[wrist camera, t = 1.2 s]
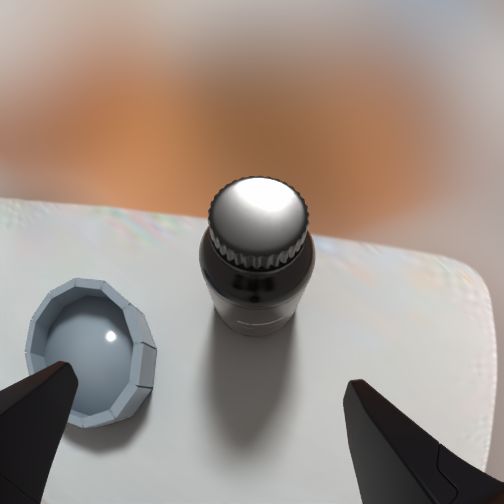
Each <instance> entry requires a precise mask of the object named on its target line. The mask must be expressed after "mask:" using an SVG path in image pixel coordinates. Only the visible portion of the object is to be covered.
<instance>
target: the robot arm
mask: <svg viewBox="0 0 504 504" xmlns="http://www.w3.org/2000/svg"><path fill="white" fill-rule="evenodd" d="M78 384H79V382H78V378H77V376H76V374H75V372H74V370H73V367H72V365H71V364H70V363H69V362H65V361H57V362H56V363H54V364H52V365H50V366H48V367H46V368H44V369H42V370H40V371H38V372H36V373H34V374H32V375H30V376H28V377H26V378H25V379H23V380H21V381H19V382H17V383H15V384H13V385H11V386H9V387H7V388H5V389H3V390H1V391H0V504H40V503H41V499H42V496H43V492H44V488H45V485H46V482H47V478H48V475H49V472H50V469H51V466H52V463H53V460H54V457H55V454H56V451H57V448H58V445H59V443H60V440H61V437H62V434H63V432H64V429H65V427H66V424H67V421H68V418H69V415H70V412H71V408H72V405H73V401H74V398H75V395H76V392H77V389H78ZM343 407H344V414H345V421H346V429H347V437H348V444H349V449H350V453H351V457H352V461H353V465H354V469H355V473H356V477H357V482H358V486H359V490H360V494H361V499H362V503H363V504H504V482H501V481H499V480H497V479H495V478H493V477H491V476H489V475H487V474H486V473H484V472H482V471H481V470H479V469H477V468H475V467H474V466H472V465H470V464H469V463H467V462H466V461H464V460H462V459H461V458H459V457H458V456H457V455H455V454H454V453H453V452H451V451H450V450H449V449H447V448H446V447H445V446H443V445H442V444H439V442H438V441H437V440H436V439H435V438H433V437H432V436H431V435H430V434H428V433H427V432H426V431H425V430H423V429H422V428H421V427H420V426H418V425H417V424H416V423H415V422H414V421H412V420H411V419H410V418H409V417H407V416H406V415H405V414H404V413H403V412H401V411H400V410H399V409H398V408H397V407H395V406H394V405H393V404H392V403H391V402H389V401H388V400H387V399H386V398H385V397H383V396H382V395H381V394H380V393H379V392H377V391H376V390H375V389H374V388H373V387H371V386H370V385H369V384H368V383H367V382H366V381H364V380H363V379H357V380H351V381H349V383H348V385H347V388H346V392H345V395H344V398H343Z"/></svg>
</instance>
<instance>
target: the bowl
mask: <svg viewBox="0 0 504 504" xmlns="http://www.w3.org/2000/svg"><path fill="white" fill-rule="evenodd" d="M32 319H33V320H31V321H30V326H29V331H28V336H27V342H26V348H25V352H27V353H25V357H26V362H27V367H28V372H29V376H30V375H32V374H34V373H36V372H38V371H40V370H42V369H44V368H46V367H48V366H50V365H52V364H54V363H56V362H57V361H65V362H69V363H70V364H71V365H72V367H73V370H74V372H75V374H76V376H77V378H78V382H79V384H78V389H77V392H76V395H75V398H74V401H73V405H72V408H71V412H70V415H69V418H68V421H67V422H69V423H71V424H74V425H76V426H79V427H81V428H91V427H100V426H105V425H108V424H112V423H115V422H118V421H121V420H125V419H128V418H131V416H133V415H134V414H135V412H136V411H137V409H138V408H139V407H140V405H141V404H142V403H143V401H144V400H145V398H146V397H147V396H148V394H149V393H150V392H151V390H152V388H150V387H153V382H154V372H155V363H156V354H157V350H155V349H156V345H155V343H154V340H153V338H152V335H151V332H150V330H149V327H148V324H147V321H146V319H145V316H144V315H143V313H142V312H141V311H139V310H138V309H137V308H136V307H135V306H133V305H132V304H131V303H130V302H129V301H127V300H126V299H125V298H124V297H123V296H122V295H121V294H119V293H118V292H117V291H116V290H115V289H114V288H112V287H111V286H110V285H109V284H108V283H107V282H106V281H102V280H92V279H82V278H76V279H75V278H74V279H72V280H70V281H68V282H67V283H65V284H63V285H61V286H59V287H57V288H55V289H54V290H52V291H50V293H48V294H47V296H46V297H45V299H44V300H43V301H42V303H41V304H40V306H39V307H38V309H37V310H36V312H35V313H34V315H33V316H32Z"/></svg>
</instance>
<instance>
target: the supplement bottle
mask: <svg viewBox="0 0 504 504" xmlns="http://www.w3.org/2000/svg"><path fill="white" fill-rule="evenodd" d="M210 207H211V208H210V209H209V210H208V214H209V217H208V224H209V226H208V227H207V229H206V231H205V232H204V235H203V237H202V240H201V243H200V248H199V262H200V267H201V271H202V274H203V277H204V279H205V282H206V285H207V287H208V290H209V292H210V295H211V297H212V300H213V302H214V305H215V307H216V310H217V312H218V314H219V316H220V317H221V319H222V320H223V321H224V322H225V323H226V324H227V325H228V326H229V327H230V328H231V329H233V330H234V331H236V332H238V333H241V334H244V335H248V336H263V335H268V334H271V333H273V332H275V331H277V330H279V329H280V328H282V327H283V326H284V325H285V324H286V323H287V322H288V321H289V319H290V318H291V316H292V315H293V313H294V311H295V309H296V307H297V305H298V303H299V301H300V299H301V297H302V295H303V293H304V291H305V289H306V286H307V284H308V282H309V280H310V278H311V275H312V272H313V269H314V265H315V246H314V242H313V239H312V236H311V234H310V232H309V231H308V226H309V221H308V219H309V213H308V212H307V209H308V207H307V205H306V204H305V201H304V199H303V198H302V197H301V196H300V193H299V192H297V191H295V189H294V188H293V187H291V186H289V185H288V184H287V183H285V182H282V181H280V180H278V179H273V178H271V177H263V176H257V177H255V176H250V177H247V178H241V179H239V180H234V181H233V182H232V183H230V184H227V185H226V186H225V187H224V188H223V189H221V190H220V191H219V193H218V194H217V195H215V196H214V200H213V201H212V202H211V204H210Z"/></svg>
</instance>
